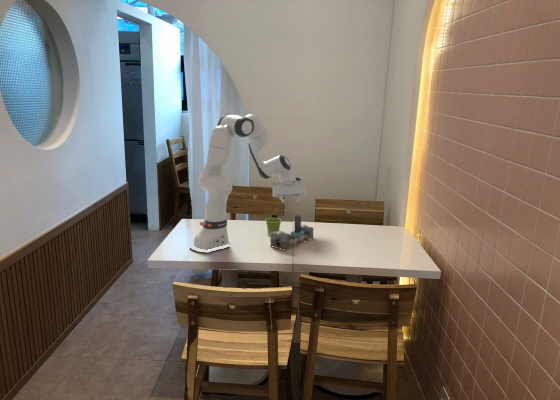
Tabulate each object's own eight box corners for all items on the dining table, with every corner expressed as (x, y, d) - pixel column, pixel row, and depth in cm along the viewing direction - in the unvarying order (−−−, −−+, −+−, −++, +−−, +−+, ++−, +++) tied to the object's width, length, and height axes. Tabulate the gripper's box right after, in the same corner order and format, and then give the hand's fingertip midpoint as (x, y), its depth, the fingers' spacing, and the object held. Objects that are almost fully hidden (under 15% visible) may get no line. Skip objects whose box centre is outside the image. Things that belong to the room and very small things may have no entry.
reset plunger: (281, 244, 243) (281, 240, 243) (278, 243, 244) (278, 239, 244) (287, 241, 247) (287, 238, 247) (284, 241, 248) (284, 237, 248)
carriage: (298, 239, 253) (298, 218, 250) (290, 237, 256) (291, 216, 253) (304, 236, 258) (304, 215, 255) (296, 234, 261) (297, 214, 258)
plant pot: (281, 236, 263) (281, 222, 261) (264, 236, 263) (264, 222, 261) (281, 232, 272) (281, 217, 270) (265, 231, 272) (265, 217, 270)
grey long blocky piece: (285, 250, 240) (286, 235, 238) (270, 246, 246) (270, 231, 244) (313, 237, 261) (313, 223, 259) (298, 234, 267) (298, 220, 265)
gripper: (271, 180, 267) (275, 200, 260) (304, 178, 272) (309, 198, 265) (269, 186, 272) (273, 206, 265) (302, 184, 277) (307, 203, 270)
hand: (291, 202), depth 265 cm, fingers open, 8 cm apart
